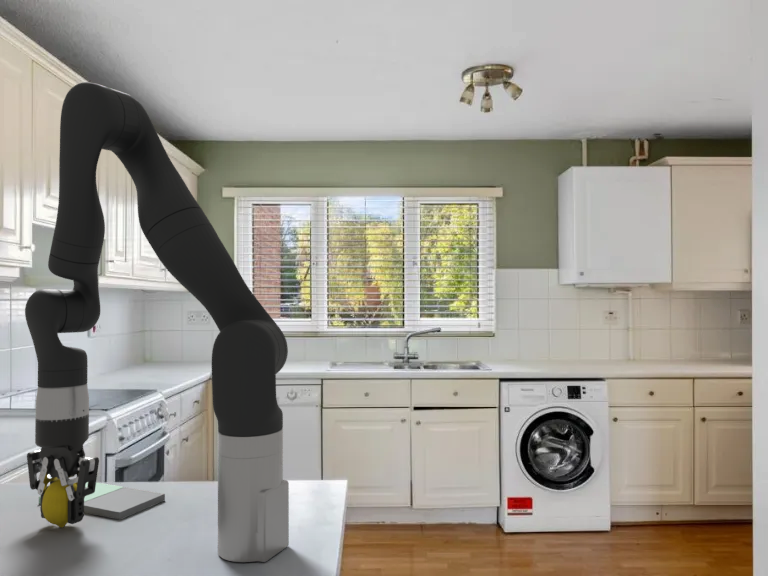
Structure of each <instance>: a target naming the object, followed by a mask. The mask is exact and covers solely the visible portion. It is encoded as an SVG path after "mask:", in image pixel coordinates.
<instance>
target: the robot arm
mask: <svg viewBox="0 0 768 576" xmlns="http://www.w3.org/2000/svg"><path fill="white" fill-rule="evenodd" d="M59 121H60V122H59V123H60V124H59V158H58V159H59V160H58V163H59V164H58V168H59V169H58V172H59V173H58V177H59V178H58V180H59V181H58V186H59V187H58V206H57V213H56V214H57V215H56V219H55V220H56V221H55V225H54V230H53V236H52V241H51V246H50V252H49V255H48V256H49V257H48V262H47V265H48V266H47V267H48V270H49V271H50V272H51V274H53V275H54V276H57V277H59V278H63V279H65V280H69V281H73V287H72V289H54V288H53V289H49V288H47V289H45V288H44V289H39V290H36V291H35V292H33V293H32V294H31V295H30V296H29V298H28V299H27V301H26V304H25V307H24V314H25V315H24V316H25V317H24V318H25V321H26V325H27V327H28V331H29V334H30V336H31V340H32V344H33V347H34V351H35V355H36V359H37V391H36V396H35V397H36V398H35V417H34V418H35V427H34V428H35V429H34V430H35V431H34V432H35V433H34V436H35V439H34V440H35V441H34V443H35V445H36V447H39V448H40V449H38V450H32V451H30V452H27V454H26V461H27V470H28V471H27V472H28V479H29V487H30V490H36V491H37V494H38V495H39V496H41V501H40V504H39V505H40V508H39V509H40V517H41V518H42V519H45V517H44V515H43V511H42V500H43V496H44V493H45V491H46V489H47V488H48V487H49V485H50V484H52V483H53V482H55V481H57V480H58V479H60V481H61V485H62V487H65V488H66V492H67V495H68V499H69V500H68V523H67V524H71V525H74V524H77V523H80V522H81V521H82V520H83V519H84V515H85V513H84V498H85V496H87V495H90V494H93V493H94V492H95V487H96V482H97V480H98V471H99V465H100V459H99V457H98V456H94V457H89V456H86V453H85V450H84V445H85V443H86V442H87V441H88V440H89V438H90V437H89V435H90V426H89V423H90V397H89V396H90V395H89V394H90V393H89V388H88V367H89V365H88V355H87V352H86V350H84V349H82V348H81V347H80V348H78V347H74V346H73V347H72V346H66V345H64V344H63V342H61V339H60V338H59V335H58V334H69V333H73V334H74V333H85V332H89V331H90V330H92V329H93V328H94V327H95V326H96V324H97V322H98V321H99V319H100V315H101V300H100V290H99V272H98V271H99V263H100V260H101V254H102V250H103V246H104V241H105V234H106V222H105V217H104V212H103V208H102V204H101V201H100V200H101V199H100V197H99V196H100V195H99V193H98V187H97V167H98V162H99V160H100V155H101V152H102V150H106V151H110V152H112V153H113V154H114V155H115V156H116V157H117V158H118V159H119V161H120V162H121V163H122V165H123V167H124V168H125V170H126V171H127V172H128V174H129V176H130V178H131V180H132V182H133V183H134V185H135V186H134V187H135V190H136V199H137V201H136V202H137V203H136V204H137V216H138V222H139V226H140V229H141V231H142V233H143V235H144V237H145V239H146V241H147V242H148V243H149V245H150V247H151V248H152V250H153V252H154V253H155V255H156V257H157V258H158V259H159V261H160V263H161V264H162V265H163V266H164V268H165V269H166V271H168V273H170V275H171V276H172V277H173V278H174V279H175V280H176V281H177V282H178V283H179V284H180V285H181V286H183V288H185V289H186V290H187V291H188V292H189V293H190V294H191V295H192V296H193V297H194V298H195V299H196V300H197V301H198V302H199V303H200V304H201V306H203V307H204V309H206V311H207V312H208V314H209V316H210V317H211V318H212V320H213V322H214V323H215V325H216V326H217V328H218V331H219V333H218V334H217V336H216V338H215V340H214V342H213V345H212V351H211V389H212V390H211V391H212V406H213V412H214V415H215V417H216V420H217V555H218V556H219V557H220V558H222V559H223V560H226V561H229V562H232V563H233V562H234V563H251V562H253V563H254V562H261V563H266V562H267V561H269V560H271V558H273V557H274V556H276V555H277V554H279V553H280V552H282V551H283V550H284V549H286V548H287V547H289V546H290V545H289V535H290V533H289V531H290V529H289V527H290V525H289V524H290V523H289V521H290V516H289V515H290V513H289V510H290V507H289V505H290V504H289V503H290V502H289V499H290V497H289V492H290V491H289V490H290V488H289V481H288V480H287V479H284V473H283V472H284V467H283V465H284V464H283V461H284V460H283V458H284V456H283V453H284V450H283V449H284V440H283V439H284V438H283V437H284V434H283V433H284V429H283V428H284V416H283V415H284V414H283V413H284V412H283V410H282V409H281V407H280V406H279V404H278V400H277V377H276V376H277V374H278V373H279V372H280V371H281V370H282V369H283V368H284V366H285V364H286V362H287V358H288V354H289V353H288V352H289V349H288V347H289V346H288V342H287V341H288V340H287V338H286V336H285V334H284V332H283V331H282V329H281V328H280V326H279V325H278V324H277V322H275V320H274V319H273V318H272V316H271V315H270V314H269V312H267V310H266V309H265V308H264V306H263V304H261V303H260V301H259V300H258V299H257V298H256V296H255V295H254V293H253V292H252V291H251V289H250V288H249V286H248V285H247V283H246V282H245V280H244V278H243V277H242V274H241V273H240V271H239V269H238V268H237V266H236V264H235V262H234V260H233V259H232V257H231V255H230V253H229V252H228V250H227V248H226V247H225V244H224V243H223V242H222V241H221V238H220V237H219V235H218V234H217V231H216V229H215V228H214V226H213V225H212V223H211V222H210V220H209V218H208V216H207V215H206V213H205V212H204V210H203V209H202V207H201V206H200V204H199V203H198V202H197V200H196V199H195V197H194V195H193V194H192V192H191V191H190V189H189V188H188V185H187V184H186V182H185V181H184V179H183V177H182V176H181V174H180V173H179V171H178V169H176V167H175V165H174V164H173V162H172V160H171V159H170V156H169V154H168V153H167V151H166V149H165V147H164V144H163V143H162V140H161V138H160V136H159V135H158V133H157V131H156V129H155V126H154V124H153V122H152V120H151V118H150V115H148V113H147V110H146V109H145V107H144V106H143V105H142V104H141V102H139V100H138V99H136V98H135V97H133V96H132V95H130V94H129V93H126V92H123V91H121V90H118V89H113V88H111V87H108V86H105V85H102V84H99V83H95V82H89V81H85V82H80V83H78V84H77V83H76V84H75V85H73V86H72V87H71V88H69V90H68V91H67V93H66V95H65V97H64V100H63V102H62V107H61V113H60V120H59ZM38 473H39V475H37V474H38ZM75 476H76V477H75ZM73 477H75V478H73ZM70 478H71V479H70ZM87 482H88V487H85V485H86V483H87ZM73 484H76V485H77V491H75V490H74V487H73Z"/></svg>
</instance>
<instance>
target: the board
mask: <svg viewBox="0 0 768 576" xmlns="http://www.w3.org/2000/svg"><path fill="white" fill-rule="evenodd" d="M85 487H88V482H87V483H86V485H85ZM40 501H41V495H39V496H38V504H39V505H41V504H40ZM165 501H166V493H162V492H157V491H150V490H144V489H139V488H132V487H126V486H121V485H114V484H107V483H102V482H97V481H96V487H95V492H94V493H93V494H90V495H87V496H85V498H84V514H90V515H95V516H99V517H105V518H110V519H114V520H122V519H125V518H127V517H129V516H132V515H134V514H136V513H139V512H141V511H143V510H146V509H147V508H148V509H149V508H150V507H152V506H155V505H157V504H159V503H162V502H165Z"/></svg>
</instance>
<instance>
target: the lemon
mask: <svg viewBox="0 0 768 576" xmlns="http://www.w3.org/2000/svg"><path fill="white" fill-rule="evenodd" d="M73 487H74V490H75V491H77V485H76V484H73ZM68 500H69V499H68V495H67V492H66V488H65V487H62V485H61V481H60V479H58V480H57V481H55V482H53V483H52V484H50V485H49V487H48V488H47V489H46V491H45V493H44V496H43V500H42V511H43V515H44V517H45V518H44V519H45V520H46V521H47V522H48V523H50V524H52V525H56V526H57V527H59V528H62V529H63V528H64V527H65V526H66V525H67V524H69V523H68Z"/></svg>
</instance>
